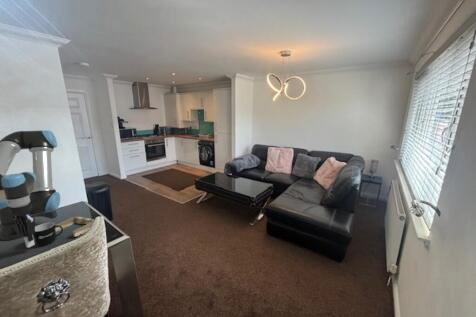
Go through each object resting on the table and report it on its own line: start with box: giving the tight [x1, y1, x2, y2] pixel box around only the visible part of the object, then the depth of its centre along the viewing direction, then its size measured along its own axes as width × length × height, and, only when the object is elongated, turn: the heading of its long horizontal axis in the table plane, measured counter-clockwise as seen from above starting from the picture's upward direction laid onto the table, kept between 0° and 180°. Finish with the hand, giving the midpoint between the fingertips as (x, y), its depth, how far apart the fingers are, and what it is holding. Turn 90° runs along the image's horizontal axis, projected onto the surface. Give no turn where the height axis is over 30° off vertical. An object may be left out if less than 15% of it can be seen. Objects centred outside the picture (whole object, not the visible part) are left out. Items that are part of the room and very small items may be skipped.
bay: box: [55, 215, 96, 238], centre depth 123 cm, size 19×14×4 cm
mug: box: [32, 222, 64, 247], centre depth 111 cm, size 12×9×10 cm
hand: (30, 245), depth 103 cm, fingers closed
